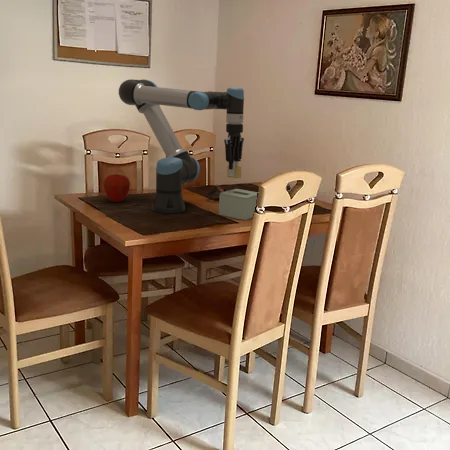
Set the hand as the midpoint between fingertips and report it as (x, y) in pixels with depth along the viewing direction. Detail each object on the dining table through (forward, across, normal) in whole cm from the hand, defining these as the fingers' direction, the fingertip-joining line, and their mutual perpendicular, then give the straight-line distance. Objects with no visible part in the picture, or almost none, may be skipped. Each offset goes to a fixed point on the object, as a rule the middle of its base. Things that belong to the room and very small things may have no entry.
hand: (233, 175), depth 241 cm
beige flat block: (+1, 0, -1) cm, 1 cm away
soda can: (+18, +23, -14) cm, 32 cm away
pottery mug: (+17, +17, +19) cm, 30 cm away
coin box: (+17, -1, -5) cm, 18 cm away
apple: (+16, -21, +52) cm, 59 cm away
